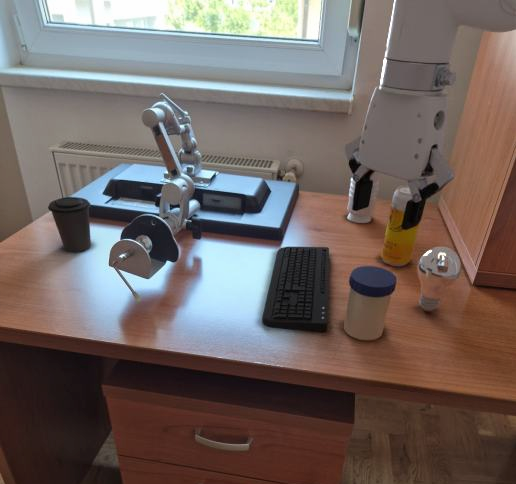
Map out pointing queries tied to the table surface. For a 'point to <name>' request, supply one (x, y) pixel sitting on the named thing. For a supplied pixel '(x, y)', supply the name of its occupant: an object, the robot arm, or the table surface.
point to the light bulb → (436, 275)
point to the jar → (365, 315)
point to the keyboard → (299, 290)
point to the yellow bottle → (398, 231)
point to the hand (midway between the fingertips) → (384, 217)
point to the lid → (372, 281)
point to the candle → (365, 213)
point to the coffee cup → (72, 222)
